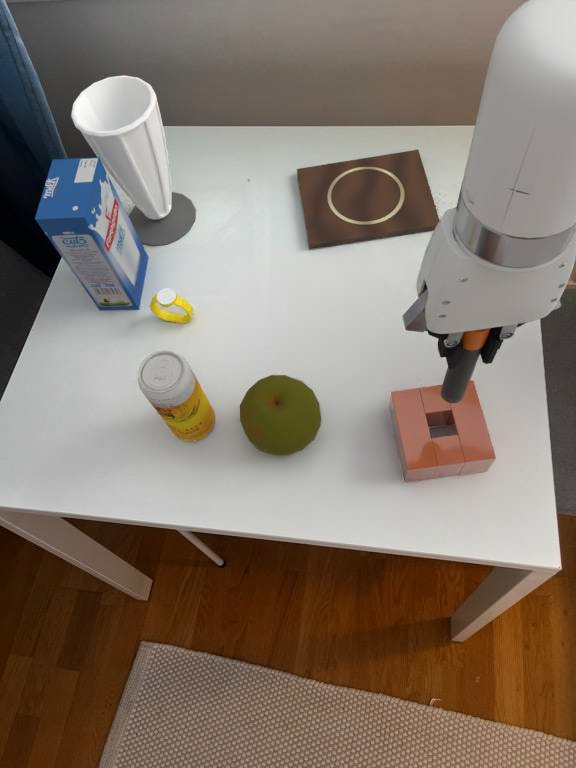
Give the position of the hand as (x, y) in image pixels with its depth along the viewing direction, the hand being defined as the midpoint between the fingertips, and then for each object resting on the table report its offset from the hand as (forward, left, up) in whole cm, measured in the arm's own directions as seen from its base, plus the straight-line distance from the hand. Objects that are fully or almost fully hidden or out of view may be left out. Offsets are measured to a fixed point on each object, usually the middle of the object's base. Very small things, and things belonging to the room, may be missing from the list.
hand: (466, 351), depth 53 cm
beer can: (+31, -7, -23) cm, 39 cm away
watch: (+33, -24, -23) cm, 47 cm away
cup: (+35, -44, -23) cm, 60 cm away
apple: (+19, -4, -23) cm, 30 cm away
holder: (0, 0, -22) cm, 22 cm away
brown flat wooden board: (+2, -41, -22) cm, 47 cm away
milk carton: (+41, -32, -23) cm, 57 cm away
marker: (0, 0, -9) cm, 9 cm away
